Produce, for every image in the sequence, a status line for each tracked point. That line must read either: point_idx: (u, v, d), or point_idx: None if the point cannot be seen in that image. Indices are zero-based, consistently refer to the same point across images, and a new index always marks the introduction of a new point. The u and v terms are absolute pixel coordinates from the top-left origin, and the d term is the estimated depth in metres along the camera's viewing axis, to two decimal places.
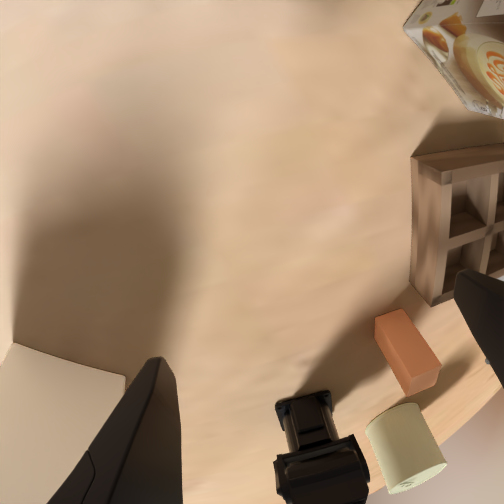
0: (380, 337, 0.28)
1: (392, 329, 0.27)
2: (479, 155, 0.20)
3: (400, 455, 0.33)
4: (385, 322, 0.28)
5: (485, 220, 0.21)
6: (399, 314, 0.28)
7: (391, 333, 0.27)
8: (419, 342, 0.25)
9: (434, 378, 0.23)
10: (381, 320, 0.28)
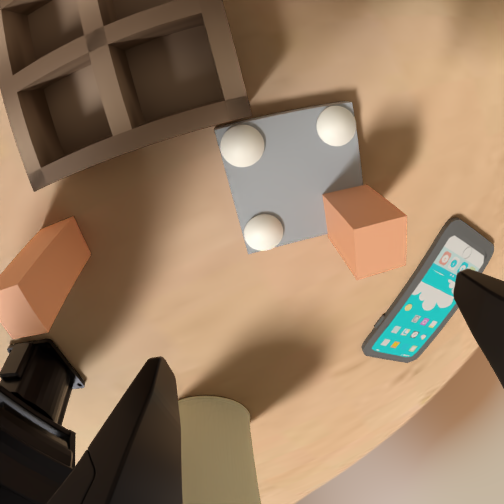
0: None
1: (36, 240, 0.17)
2: None
3: None
4: (41, 233, 0.18)
5: None
6: (62, 223, 0.18)
7: (29, 244, 0.17)
8: (35, 254, 0.15)
9: (30, 314, 0.13)
10: (41, 231, 0.18)
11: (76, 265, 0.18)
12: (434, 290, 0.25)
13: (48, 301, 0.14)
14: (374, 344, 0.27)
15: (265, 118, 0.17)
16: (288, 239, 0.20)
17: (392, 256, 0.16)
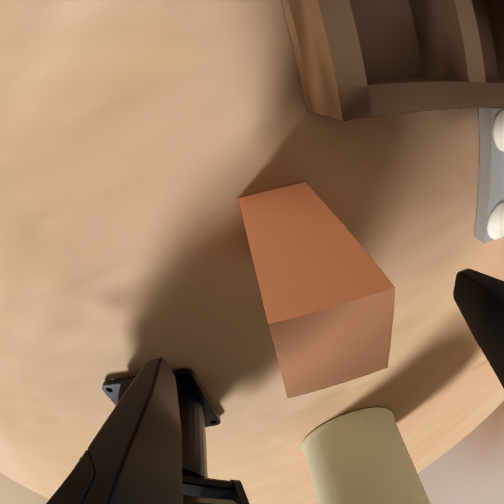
0: None
1: (264, 212, 0.12)
2: None
3: (348, 500, 0.17)
4: (255, 203, 0.13)
5: None
6: (294, 190, 0.13)
7: (256, 219, 0.11)
8: (328, 232, 0.10)
9: (378, 343, 0.08)
10: (248, 201, 0.13)
11: None
12: None
13: None
14: None
15: None
16: None
17: None
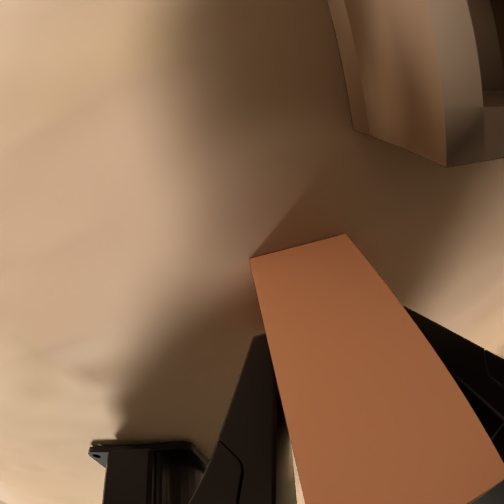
0: None
1: (293, 296, 0.08)
2: None
3: None
4: (276, 273, 0.09)
5: None
6: (333, 250, 0.09)
7: (282, 312, 0.07)
8: (403, 353, 0.05)
9: None
10: (265, 267, 0.09)
11: None
12: None
13: None
14: None
15: None
16: None
17: None
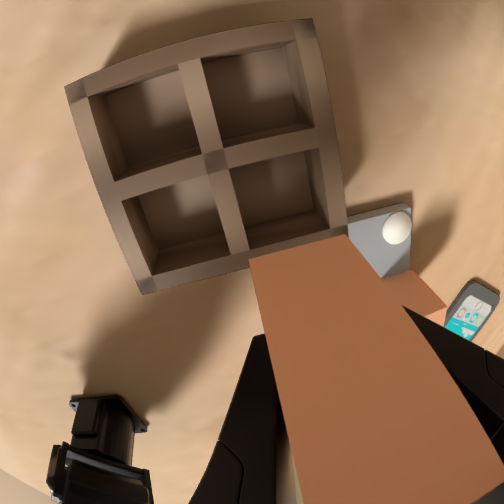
0: None
1: (293, 297, 0.08)
2: None
3: None
4: (275, 273, 0.09)
5: None
6: (333, 250, 0.09)
7: (282, 312, 0.07)
8: (403, 355, 0.05)
9: None
10: (264, 267, 0.09)
11: None
12: None
13: None
14: None
15: None
16: None
17: None
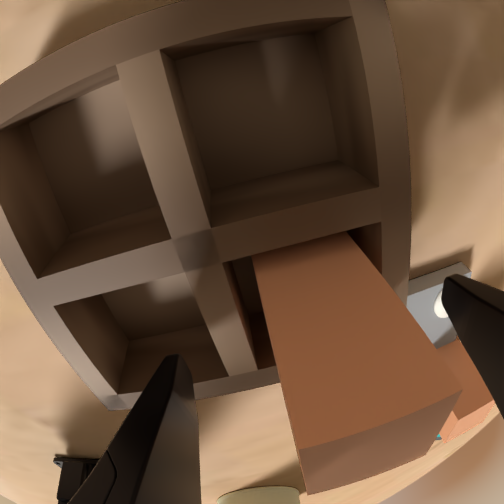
0: None
1: (281, 254, 0.09)
2: None
3: None
4: None
5: None
6: None
7: (271, 265, 0.09)
8: (368, 294, 0.07)
9: (424, 439, 0.05)
10: None
11: None
12: None
13: None
14: None
15: None
16: None
17: (476, 421, 0.13)
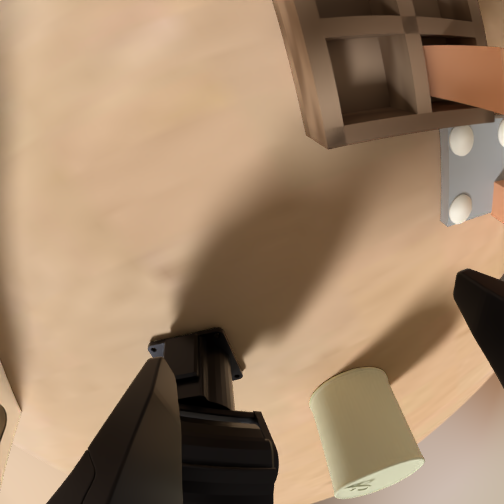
0: None
1: None
2: None
3: (348, 443, 0.24)
4: None
5: (396, 9, 0.11)
6: None
7: None
8: None
9: None
10: None
11: None
12: None
13: None
14: None
15: None
16: (471, 215, 0.21)
17: None
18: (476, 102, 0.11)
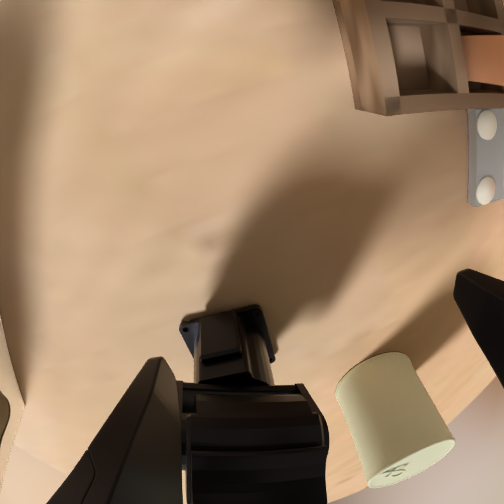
0: None
1: None
2: None
3: (383, 426, 0.23)
4: None
5: (439, 2, 0.11)
6: None
7: (470, 36, 0.12)
8: None
9: None
10: None
11: None
12: None
13: None
14: None
15: (497, 109, 0.17)
16: (494, 198, 0.21)
17: None
18: None
